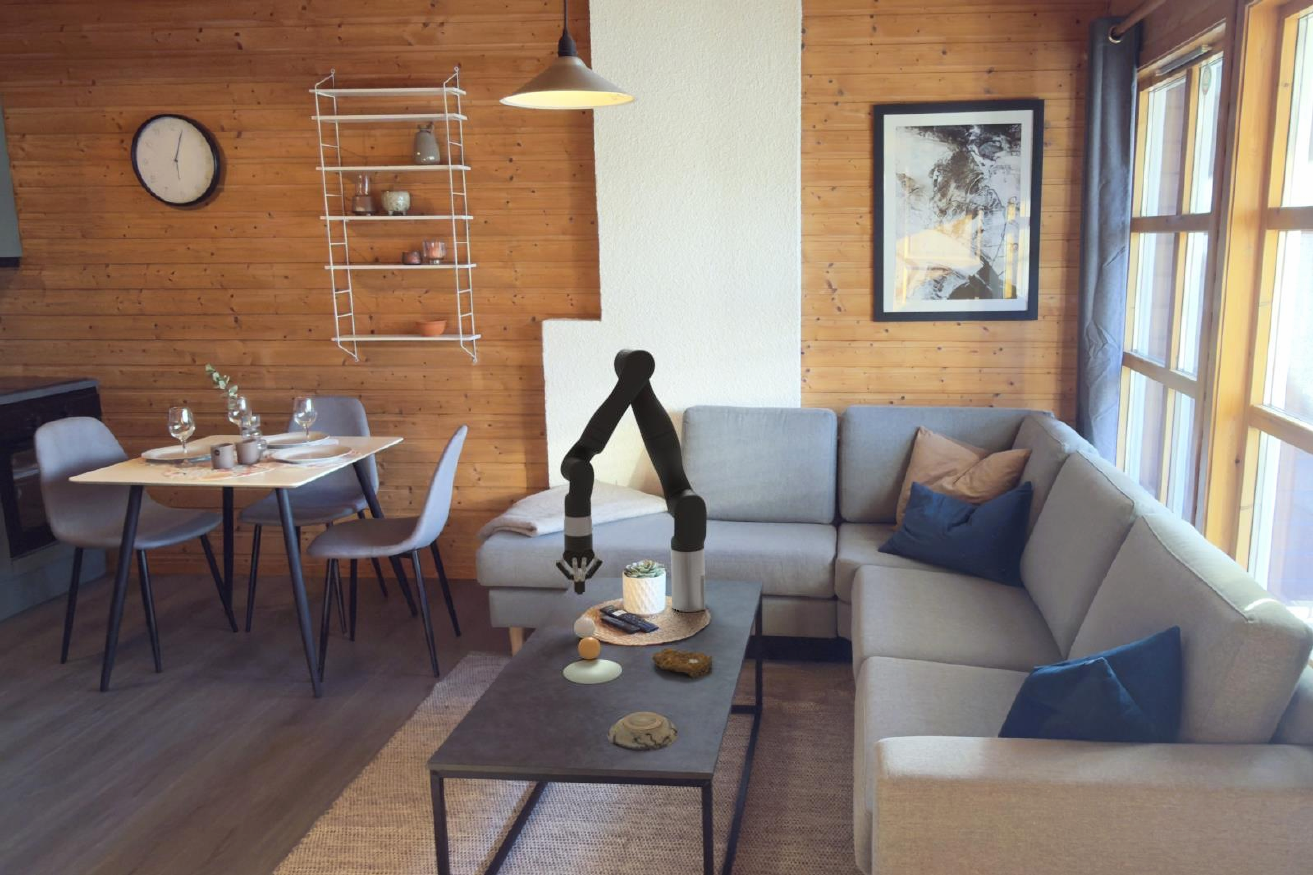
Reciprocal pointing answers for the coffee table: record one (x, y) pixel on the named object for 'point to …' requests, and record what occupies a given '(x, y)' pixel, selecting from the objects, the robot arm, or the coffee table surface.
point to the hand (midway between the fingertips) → (579, 593)
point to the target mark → (592, 671)
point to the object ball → (589, 648)
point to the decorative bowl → (643, 732)
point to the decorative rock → (683, 662)
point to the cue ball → (584, 627)
